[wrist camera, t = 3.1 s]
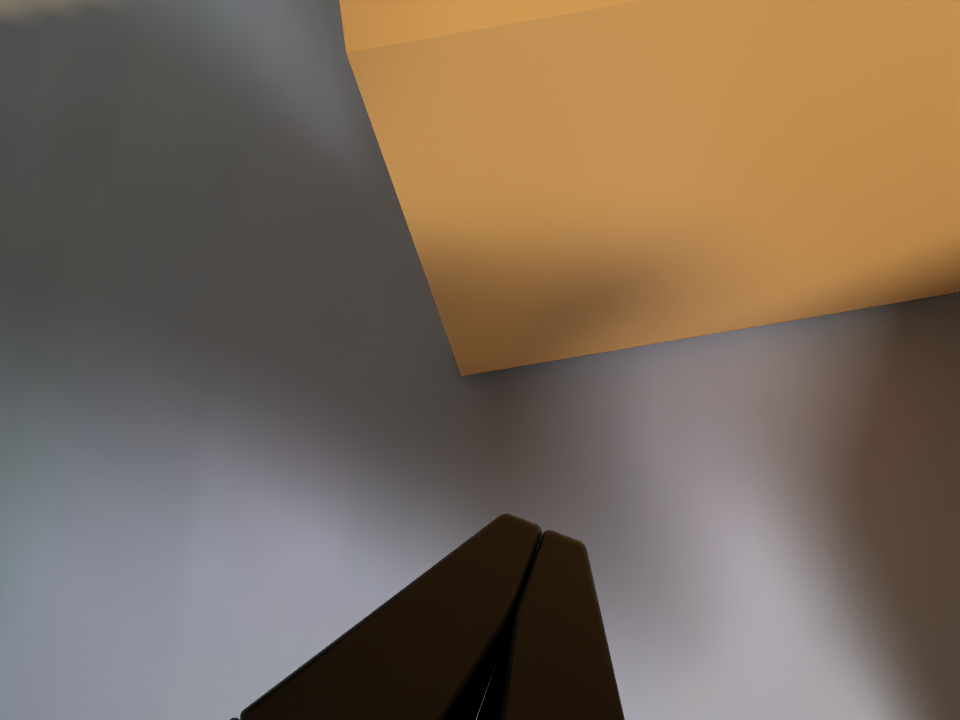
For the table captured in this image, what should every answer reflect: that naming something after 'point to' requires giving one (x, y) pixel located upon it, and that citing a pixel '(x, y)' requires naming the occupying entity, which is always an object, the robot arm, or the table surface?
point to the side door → (663, 162)
